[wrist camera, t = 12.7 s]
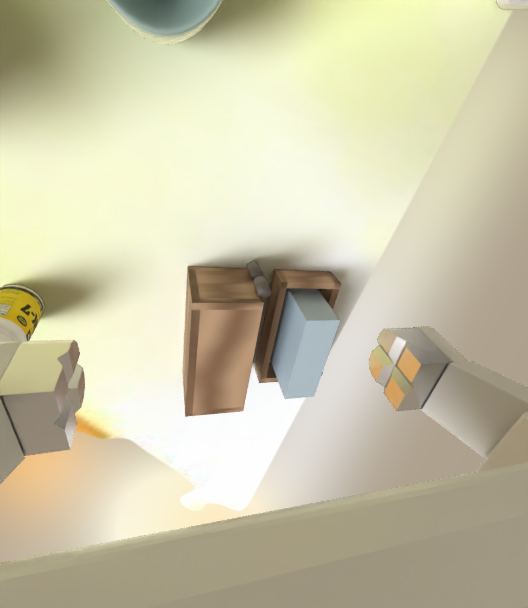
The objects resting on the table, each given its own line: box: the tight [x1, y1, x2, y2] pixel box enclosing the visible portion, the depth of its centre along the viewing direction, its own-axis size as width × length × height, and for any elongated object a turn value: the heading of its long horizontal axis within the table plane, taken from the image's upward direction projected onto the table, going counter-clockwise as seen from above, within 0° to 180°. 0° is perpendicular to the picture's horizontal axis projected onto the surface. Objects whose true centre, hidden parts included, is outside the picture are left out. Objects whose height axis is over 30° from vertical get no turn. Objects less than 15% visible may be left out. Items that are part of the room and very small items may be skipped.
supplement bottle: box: [0, 285, 44, 342], centre depth 31 cm, size 5×5×8 cm
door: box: [270, 288, 340, 399], centre depth 42 cm, size 5×12×8 cm, turn 170°
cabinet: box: [183, 261, 341, 416], centre depth 40 cm, size 18×17×8 cm
